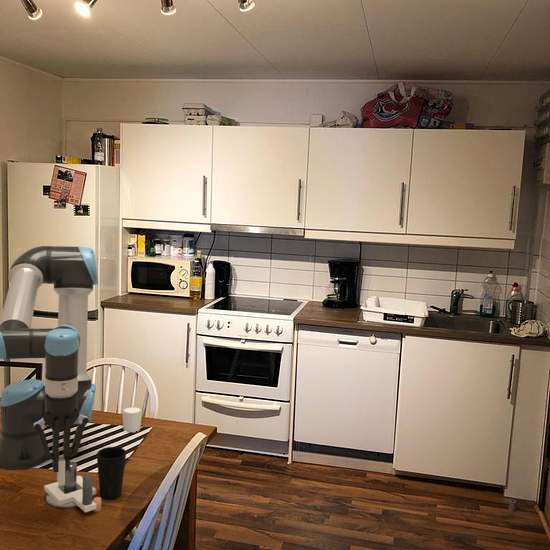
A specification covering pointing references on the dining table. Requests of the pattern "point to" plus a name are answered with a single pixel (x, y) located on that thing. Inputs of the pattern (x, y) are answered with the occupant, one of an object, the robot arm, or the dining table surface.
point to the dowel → (97, 504)
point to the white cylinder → (131, 419)
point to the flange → (75, 493)
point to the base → (67, 487)
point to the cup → (111, 471)
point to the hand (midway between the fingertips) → (60, 482)
